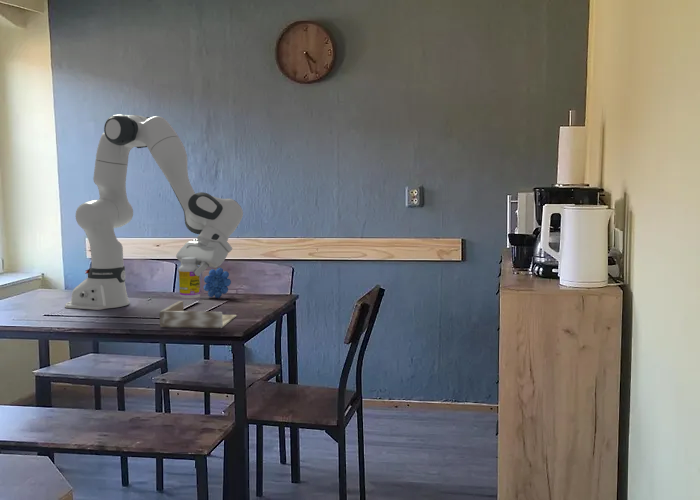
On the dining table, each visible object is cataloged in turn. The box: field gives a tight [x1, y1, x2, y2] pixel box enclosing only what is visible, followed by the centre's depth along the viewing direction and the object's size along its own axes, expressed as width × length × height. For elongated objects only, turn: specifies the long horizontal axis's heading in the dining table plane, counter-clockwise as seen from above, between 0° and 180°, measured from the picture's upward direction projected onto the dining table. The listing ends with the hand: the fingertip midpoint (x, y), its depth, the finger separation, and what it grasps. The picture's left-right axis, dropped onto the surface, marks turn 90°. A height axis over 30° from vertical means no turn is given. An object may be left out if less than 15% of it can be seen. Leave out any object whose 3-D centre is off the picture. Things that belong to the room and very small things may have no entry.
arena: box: [159, 300, 237, 329], centre depth 238 cm, size 20×18×5 cm
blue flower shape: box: [203, 267, 232, 299], centre depth 280 cm, size 12×7×12 cm, turn 72°
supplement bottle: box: [178, 257, 201, 299], centre depth 235 cm, size 7×7×13 cm
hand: (187, 273), depth 235 cm, fingers closed on supplement bottle, 7 cm apart
